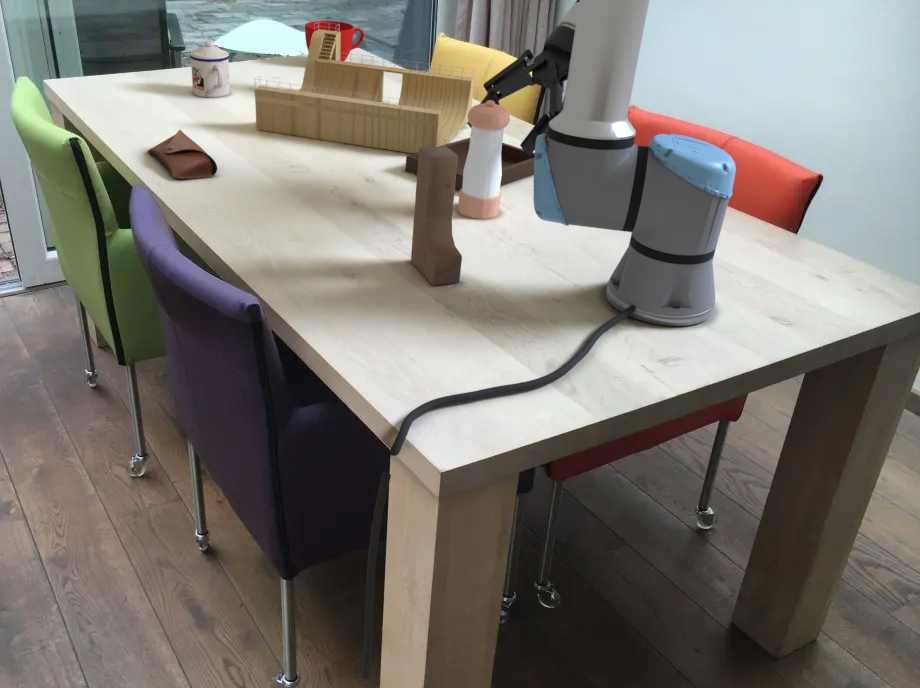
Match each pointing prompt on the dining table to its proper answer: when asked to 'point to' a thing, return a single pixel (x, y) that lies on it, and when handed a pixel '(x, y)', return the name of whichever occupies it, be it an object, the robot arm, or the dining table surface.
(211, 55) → the teacup with lid
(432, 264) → the wooden block
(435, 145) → the skate ramp
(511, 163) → the tray
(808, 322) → the dining table surface
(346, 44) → the ceramic cup
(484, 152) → the pepper shaker
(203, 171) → the sunglasses case
